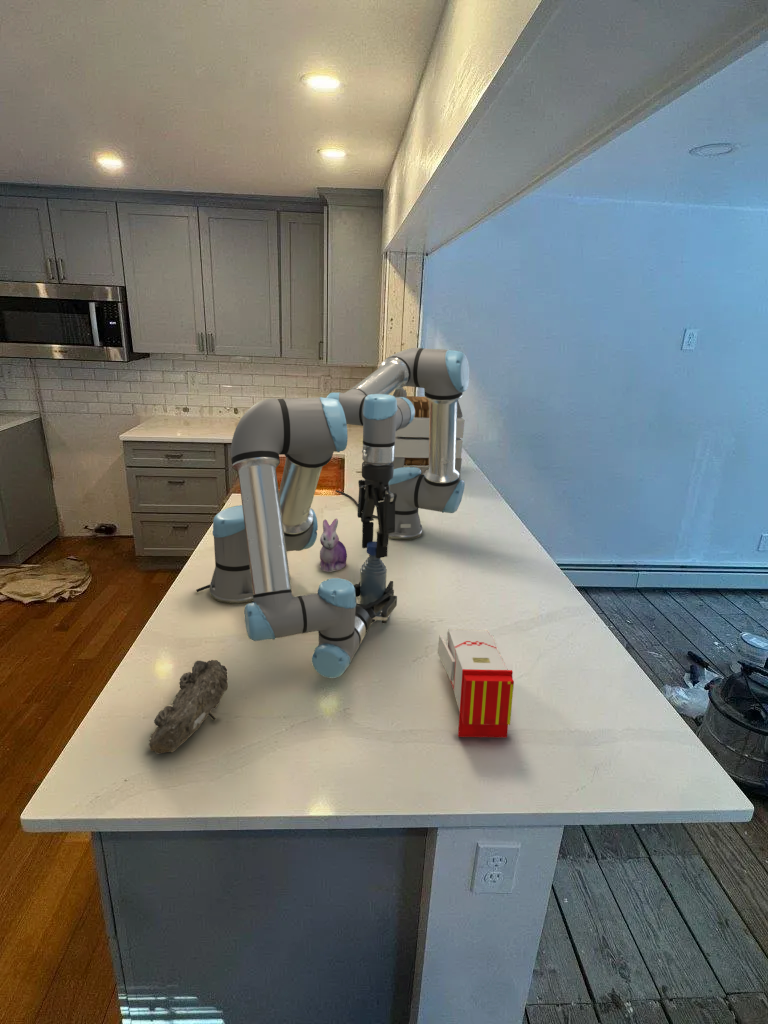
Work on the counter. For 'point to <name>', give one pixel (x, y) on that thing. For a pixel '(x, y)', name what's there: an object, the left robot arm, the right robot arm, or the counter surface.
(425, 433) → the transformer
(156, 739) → the fossil
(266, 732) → the counter surface
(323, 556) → the figurine
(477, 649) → the toy
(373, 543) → the cap
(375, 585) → the bottle
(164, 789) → the counter surface
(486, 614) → the counter surface
